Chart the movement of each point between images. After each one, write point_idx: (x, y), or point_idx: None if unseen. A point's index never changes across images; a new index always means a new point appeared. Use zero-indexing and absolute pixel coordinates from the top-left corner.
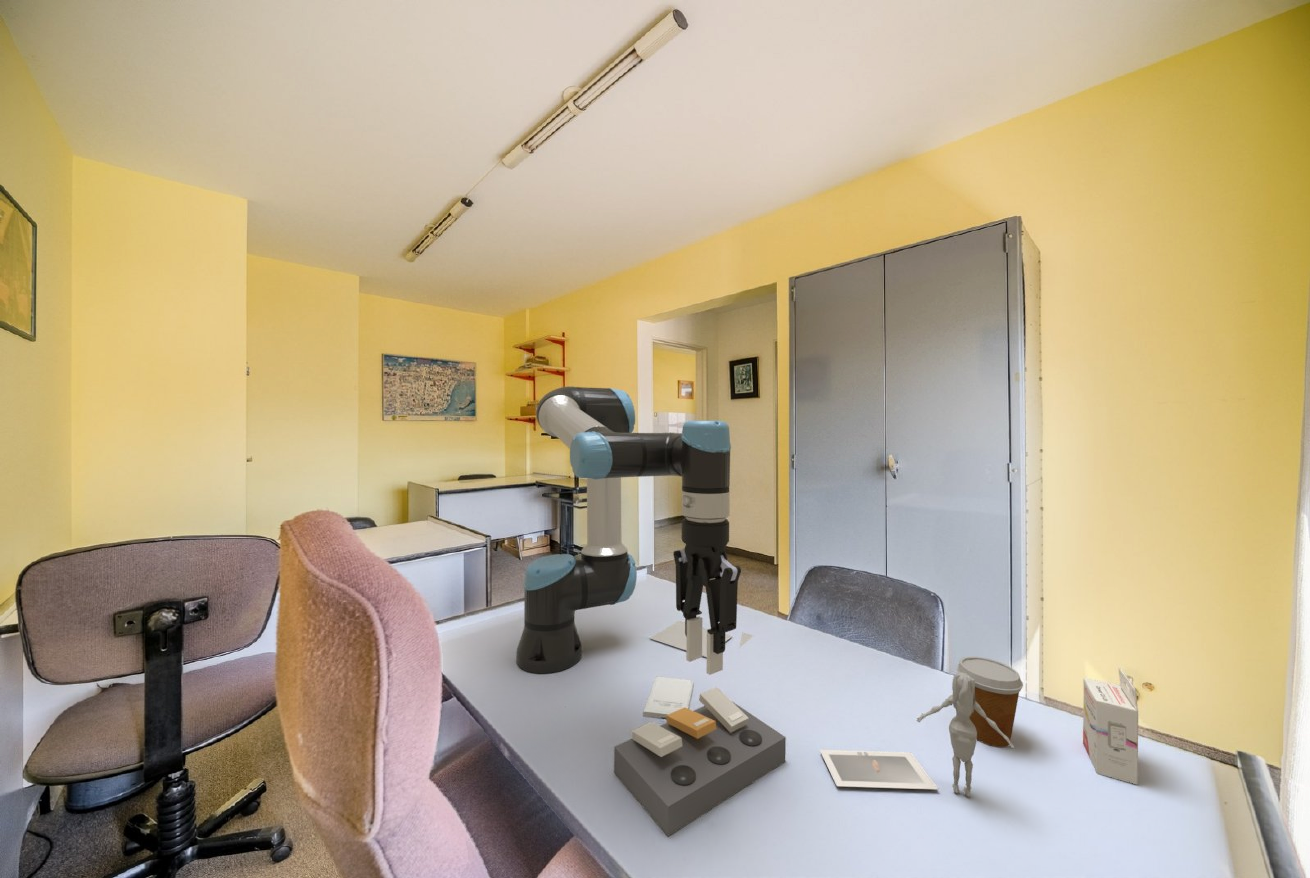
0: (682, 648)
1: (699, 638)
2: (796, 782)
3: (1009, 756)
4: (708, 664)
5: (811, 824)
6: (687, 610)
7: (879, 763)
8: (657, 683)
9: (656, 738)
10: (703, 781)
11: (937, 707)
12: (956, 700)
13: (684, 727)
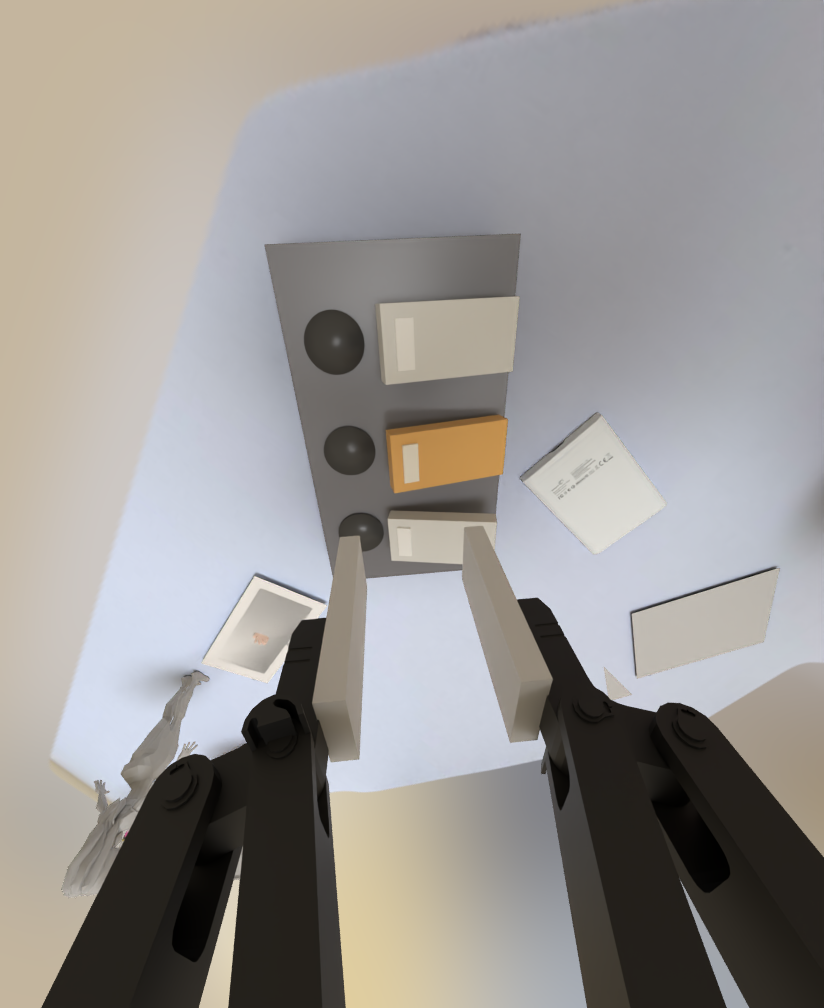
0: (691, 597)
1: (480, 631)
2: (294, 537)
3: (224, 744)
4: (346, 561)
5: (214, 500)
6: (585, 755)
7: (267, 644)
8: (648, 494)
9: (431, 328)
10: (300, 375)
11: None
12: (114, 824)
13: (435, 426)
